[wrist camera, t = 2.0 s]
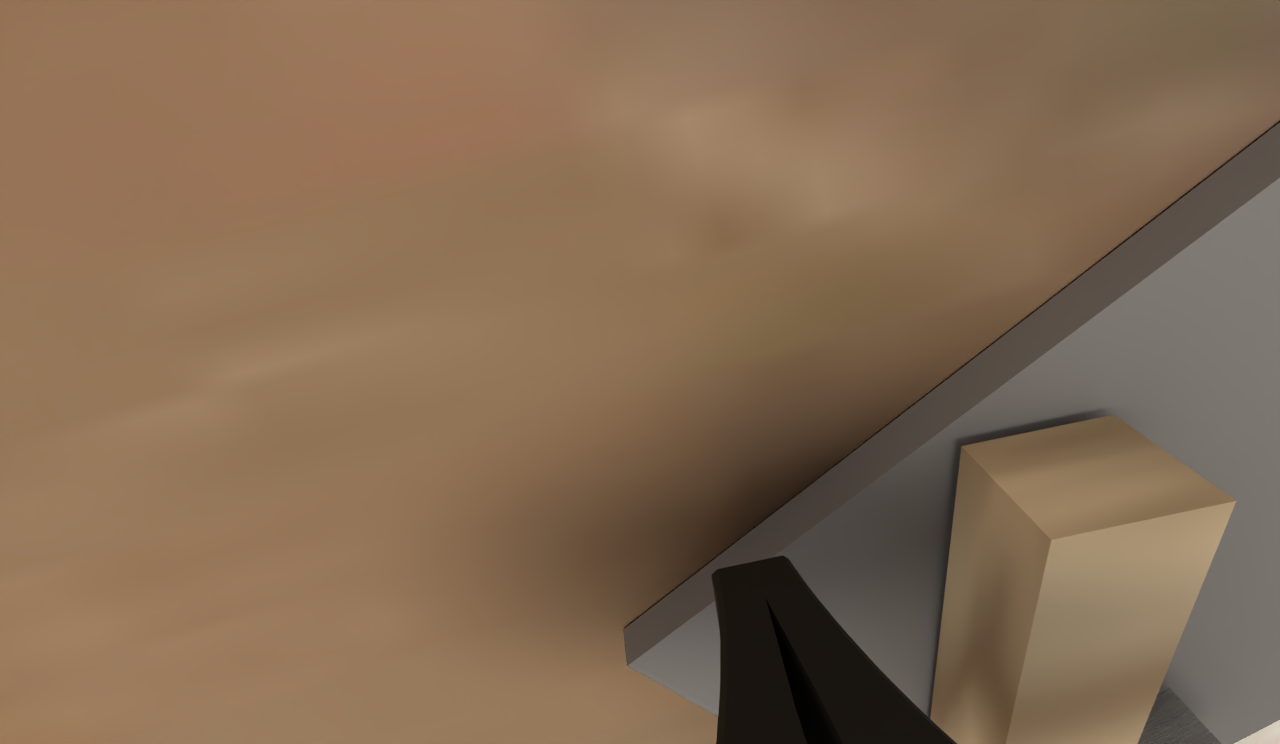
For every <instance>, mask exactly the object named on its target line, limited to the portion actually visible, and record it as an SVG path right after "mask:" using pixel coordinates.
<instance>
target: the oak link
mask: <svg viewBox="0 0 1280 744" xmlns="http://www.w3.org/2000/svg"><path fill="white" fill-rule="evenodd" d="M1235 503H1236V500H1234V499H1233V498H1232V497H1230V496H1229V495H1227V494H1226V493H1224V492H1223V491H1222V490H1220V489H1219V488H1217V487H1216V486H1214V485H1213V484H1212V483H1210V482H1209V481H1207V480H1206V479H1204V478H1203V477H1202V476H1200V475H1199V474H1197V473H1196V472H1195V471H1193V470H1192V469H1190V468H1189V467H1187V466H1186V465H1185V464H1183V463H1182V462H1180V461H1179V460H1177V459H1176V458H1175V457H1173V456H1172V455H1170V454H1169V453H1167V452H1166V451H1165V450H1163V449H1162V448H1160V447H1159V446H1158V445H1156V444H1155V443H1153V442H1152V441H1150V440H1149V439H1148V438H1146V437H1145V436H1143V435H1142V434H1140V433H1139V432H1138V431H1136V430H1135V429H1133V428H1132V427H1130V426H1129V425H1128V424H1126V423H1125V422H1123V421H1122V420H1120V419H1119V418H1118V417H1116V416H1115V415H1110V416H1105V417H1100V418H1095V419H1090V420H1085V421H1081V422H1076V423H1071V424H1066V425H1061V426H1056V427H1052V428H1047V429H1042V430H1037V431H1032V432H1027V433H1023V434H1018V435H1013V436H1008V437H1003V438H998V439H994V440H989V441H984V442H979V443H974V444H969V445H965V446H961V454H960V463H959V472H958V480H957V489H956V498H955V507H954V515H953V524H952V533H951V542H950V550H949V559H948V568H947V577H946V585H945V594H944V603H943V612H942V620H941V629H940V638H939V647H938V655H937V664H936V673H935V681H934V690H933V699H932V708H931V716H930V719H931V720H932V721H933V722H934V723H935V724H936V725H937V726H938V727H939V728H940V729H942V730H943V731H944V732H945V733H946V734H947V735H948V736H949V737H950V738H952V739H953V740H954V741H955V742H956V743H957V744H1138V741H1139V739H1140V736H1141V734H1142V731H1143V729H1144V727H1145V724H1146V722H1147V719H1148V717H1149V714H1150V712H1151V709H1152V707H1153V704H1154V702H1155V700H1156V697H1157V695H1158V692H1159V690H1160V687H1161V685H1162V682H1163V680H1164V677H1165V675H1166V673H1167V670H1168V668H1169V665H1170V663H1171V660H1172V658H1173V655H1174V653H1175V650H1176V648H1177V646H1178V643H1179V641H1180V638H1181V636H1182V633H1183V631H1184V628H1185V626H1186V624H1187V621H1188V619H1189V616H1190V614H1191V611H1192V609H1193V606H1194V604H1195V601H1196V599H1197V597H1198V594H1199V592H1200V589H1201V587H1202V584H1203V582H1204V579H1205V577H1206V574H1207V572H1208V570H1209V567H1210V565H1211V562H1212V560H1213V557H1214V555H1215V552H1216V550H1217V547H1218V545H1219V543H1220V540H1221V538H1222V535H1223V533H1224V530H1225V528H1226V525H1227V523H1228V521H1229V518H1230V516H1231V513H1232V511H1233V508H1234V506H1235Z"/></svg>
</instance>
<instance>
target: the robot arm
mask: <svg viewBox="0 0 1280 744" xmlns="http://www.w3.org/2000/svg"><path fill="white" fill-rule="evenodd" d="M711 577H712V583H713V590H714V597H715V603H716V610H717V617H718V623H719V630H720V698H719V713H718V728H717V742H716V744H957V743H956V742H955V741H954V740H953V739H952V738H950V737H949V736H948V735H947V734H946V733H945V732H944V731H943V730H942V729H940V728H939V727H938V726H937V725H936V724H935V723H934V722H933V721H932V720H931V719H930V718H929V717H928V716H927V715H925V714H924V713H923V712H922V711H921V710H920V709H919V708H918V707H917V706H916V705H915V704H914V703H913V702H912V701H911V700H910V699H909V698H908V697H907V696H906V695H905V694H904V693H903V692H902V691H901V690H900V689H899V688H898V687H897V686H896V685H895V684H894V683H893V682H892V681H891V680H890V679H889V678H888V677H887V676H886V675H885V674H884V673H883V672H882V671H881V670H880V669H879V668H878V666H877V665H876V664H875V663H874V662H873V661H872V660H871V659H870V658H869V657H868V656H867V655H866V653H865V652H864V651H863V650H862V649H861V648H860V647H859V646H858V645H857V644H856V642H855V641H854V640H853V639H852V638H851V637H850V636H849V635H848V634H847V632H846V631H845V630H844V629H843V628H842V627H841V626H840V624H839V623H838V622H837V621H836V620H835V619H834V617H833V616H832V615H831V614H830V613H829V611H828V610H827V609H826V608H825V606H824V605H823V604H822V603H821V602H820V600H819V599H818V598H817V597H816V595H815V594H814V593H813V591H812V590H811V589H810V588H809V586H808V585H807V584H806V582H805V581H804V580H803V578H802V577H801V576H800V574H799V573H798V571H797V570H796V569H795V567H794V566H793V564H792V563H791V561H790V560H789V559H788V558H787V557H785V556H783V555H782V556H777V557H773V558H768V559H763V560H758V561H754V562H749V563H744V564H739V565H735V566H730V567H725V568H720V569H717V570H716V571H715V572H714V573H713V574H712V575H711Z"/></svg>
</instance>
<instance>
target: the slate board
mask: <svg viewBox="0 0 1280 744" xmlns="http://www.w3.org/2000/svg"><path fill="white" fill-rule="evenodd" d="M1110 415H1115V416H1116V417H1118V418H1119V419H1120V420H1122V421H1123V422H1125V423H1126V424H1128V425H1129V426H1130V427H1132V428H1133V429H1135V430H1136V431H1138V432H1139V433H1140V434H1142V435H1143V436H1145V437H1146V438H1148V439H1149V440H1150V441H1152V442H1153V443H1155V444H1156V445H1158V446H1159V447H1160V448H1162V449H1163V450H1165V451H1166V452H1167V453H1169V454H1170V455H1172V456H1173V457H1175V458H1176V459H1177V460H1179V461H1180V462H1182V463H1183V464H1185V465H1186V466H1187V467H1189V468H1190V469H1192V470H1193V471H1195V472H1196V473H1197V474H1199V475H1200V476H1202V477H1203V478H1204V479H1206V480H1207V481H1209V482H1210V483H1212V484H1213V485H1214V486H1216V487H1217V488H1219V489H1220V490H1222V491H1223V492H1224V493H1226V494H1227V495H1229V496H1230V497H1232V498H1233V499H1234V500H1236V503H1235V506H1234V508H1233V511H1232V513H1231V516H1230V518H1229V521H1228V523H1227V525H1226V528H1225V530H1224V533H1223V535H1222V538H1221V540H1220V543H1219V545H1218V547H1217V550H1216V552H1215V555H1214V557H1213V560H1212V562H1211V565H1210V567H1209V570H1208V572H1207V574H1206V577H1205V579H1204V582H1203V584H1202V587H1201V589H1200V592H1199V594H1198V597H1197V599H1196V601H1195V604H1194V606H1193V609H1192V611H1191V614H1190V616H1189V619H1188V621H1187V624H1186V626H1185V628H1184V631H1183V633H1182V636H1181V638H1180V641H1179V643H1178V646H1177V648H1176V650H1175V653H1174V655H1173V658H1172V660H1171V663H1170V665H1169V668H1168V670H1167V673H1166V675H1165V677H1164V680H1163V682H1162V685H1161V687H1160V690H1159V692H1158V694H1159V693H1161V692H1163V691H1165V690H1166V689H1168V688H1170V689H1171V690H1172V691H1173V692H1174V693H1175V694H1176V695H1177V696H1178V697H1179V698H1180V699H1181V700H1182V702H1183V703H1184V704H1185V705H1186V706H1187V707H1188V708H1189V709H1190V710H1191V711H1192V712H1193V713H1194V715H1195V716H1196V717H1197V718H1198V719H1199V720H1200V721H1201V722H1202V723H1203V724H1204V725H1205V726H1206V728H1207V729H1208V730H1209V731H1210V732H1211V733H1212V734H1213V735H1214V736H1215V737H1216V738H1217V739H1218V741H1219V742H1220V743H1221V744H1234V743H1235V742H1237V741H1239V740H1241V739H1243V738H1245V737H1247V736H1249V735H1251V734H1253V733H1255V732H1257V731H1259V730H1261V729H1263V728H1265V727H1267V726H1268V725H1270V724H1272V723H1274V722H1276V721H1278V720H1280V123H1278V124H1277V125H1276V126H1275V127H1273V128H1272V129H1271V130H1269V131H1268V132H1267V133H1265V134H1264V135H1263V136H1262V137H1260V138H1259V139H1258V140H1256V141H1255V142H1254V143H1252V144H1251V145H1250V146H1249V147H1247V148H1246V149H1245V150H1243V151H1242V152H1241V153H1240V154H1238V155H1237V156H1236V157H1234V158H1233V159H1232V160H1230V161H1229V162H1228V163H1227V164H1225V165H1224V166H1223V167H1221V168H1220V169H1219V170H1218V171H1216V172H1215V173H1214V174H1212V175H1211V176H1210V177H1208V178H1207V179H1206V180H1205V181H1203V182H1202V183H1201V184H1199V185H1198V186H1197V187H1196V188H1194V189H1193V190H1192V191H1190V192H1189V193H1188V194H1186V195H1185V196H1184V197H1183V198H1181V199H1180V200H1179V201H1177V202H1176V203H1175V204H1174V205H1172V206H1171V207H1170V208H1168V209H1167V210H1166V211H1164V212H1163V213H1162V214H1161V215H1159V216H1158V217H1157V218H1155V219H1154V220H1153V221H1152V222H1150V223H1149V224H1148V225H1146V226H1145V227H1144V228H1142V229H1141V230H1140V231H1139V232H1137V233H1136V234H1135V235H1133V236H1132V237H1131V238H1129V239H1128V240H1127V241H1126V242H1124V243H1123V244H1122V245H1120V246H1119V247H1118V248H1117V249H1115V250H1114V251H1113V252H1111V253H1110V254H1109V255H1107V256H1106V257H1105V258H1104V259H1102V260H1101V261H1100V262H1098V263H1097V264H1096V265H1095V266H1093V267H1092V268H1091V269H1089V270H1088V271H1087V272H1085V273H1084V274H1083V275H1082V276H1080V277H1079V278H1078V279H1076V280H1075V281H1074V282H1073V283H1071V284H1070V285H1069V286H1067V287H1066V288H1065V289H1063V290H1062V291H1061V292H1060V293H1058V294H1057V295H1056V296H1054V297H1053V298H1052V299H1051V300H1049V301H1048V302H1047V303H1045V304H1044V305H1043V306H1041V307H1040V308H1039V309H1038V310H1036V311H1035V312H1034V313H1032V314H1031V315H1030V316H1029V317H1027V318H1026V319H1025V320H1023V321H1022V322H1021V323H1019V324H1018V325H1017V326H1016V327H1014V328H1013V329H1012V330H1010V331H1009V332H1008V333H1006V334H1005V335H1004V336H1003V337H1001V338H1000V339H999V340H997V341H996V342H995V343H994V344H992V345H991V346H990V347H988V348H987V349H986V350H984V351H983V352H982V353H981V354H979V355H978V356H977V357H975V358H974V359H973V360H972V361H970V362H969V363H968V364H966V365H965V366H964V367H962V368H961V369H960V370H959V371H957V372H956V373H955V374H953V375H952V376H951V377H950V378H948V379H947V380H946V381H944V382H943V383H942V384H940V385H939V386H938V387H937V388H935V389H934V390H933V391H931V392H930V393H929V394H928V395H926V396H925V397H924V398H922V399H921V400H920V401H918V402H917V403H916V404H915V405H913V406H912V407H911V408H909V409H908V410H907V411H906V412H904V413H903V414H902V415H900V416H899V417H898V418H896V419H895V420H894V421H893V422H891V423H890V424H889V425H887V426H886V427H885V428H883V429H882V430H881V431H880V432H878V433H877V434H876V435H874V436H873V437H872V438H871V439H869V440H868V441H867V442H865V443H864V444H863V445H861V446H860V447H859V448H858V449H856V450H855V451H854V452H852V453H851V454H850V455H849V456H847V457H846V458H845V459H843V460H842V461H841V462H839V463H838V464H837V465H836V466H834V467H833V468H832V469H830V470H829V471H828V472H827V473H825V474H824V475H823V476H821V477H820V478H819V479H817V480H816V481H815V482H814V483H812V484H811V485H810V486H808V487H807V488H806V489H805V490H803V491H802V492H801V493H799V494H798V495H797V496H795V497H794V498H793V499H792V500H790V501H789V502H788V503H786V504H785V505H784V506H783V507H781V508H780V509H779V510H777V511H776V512H775V513H773V514H772V515H771V516H770V517H768V518H767V519H766V520H764V521H763V522H762V523H760V524H759V525H758V526H757V527H755V528H754V529H753V530H751V531H750V532H749V533H748V534H746V535H745V536H744V537H742V538H741V539H740V540H738V541H737V542H736V543H735V544H733V545H732V546H731V547H729V548H728V549H727V550H726V551H724V552H723V553H722V554H720V555H719V556H718V557H716V558H715V559H714V560H713V561H711V562H710V563H709V564H707V565H706V566H705V567H704V568H702V569H701V570H700V571H698V572H697V573H696V574H694V575H693V576H692V577H691V578H689V579H688V580H687V581H685V582H684V583H683V584H682V585H680V586H679V587H678V588H676V589H675V590H674V591H672V592H671V593H670V594H669V595H667V596H666V597H665V598H663V599H662V600H661V601H660V602H658V603H657V604H656V605H654V606H653V607H652V608H650V609H649V610H648V611H647V612H645V613H644V614H643V615H641V616H640V617H639V618H637V619H636V620H635V621H634V622H632V623H631V624H630V625H628V626H627V627H626V628H625V629H623V633H624V642H625V651H626V660H627V666H628V667H630V668H631V669H633V670H635V671H637V672H639V673H640V674H642V675H644V676H646V677H648V678H649V679H651V680H653V681H655V682H657V683H658V684H660V685H662V686H664V687H666V688H667V689H669V690H671V691H673V692H675V693H676V694H678V695H680V696H682V697H683V698H685V699H687V700H689V701H691V702H692V703H694V704H696V705H698V706H700V707H701V708H703V709H705V710H707V711H709V712H710V713H712V714H714V715H716V716H718V713H719V698H720V630H719V623H718V617H717V610H716V603H715V597H714V590H713V583H712V577H711V575H712V574H713V573H714V572H715V571H716V570H717V569H720V568H725V567H730V566H735V565H739V564H744V563H749V562H754V561H758V560H763V559H768V558H773V557H777V556H782V555H783V556H785V557H787V558H788V559H789V560H790V561H791V563H792V564H793V566H794V567H795V569H796V570H797V571H798V573H799V574H800V576H801V577H802V578H803V580H804V581H805V582H806V584H807V585H808V586H809V588H810V589H811V590H812V591H813V593H814V594H815V595H816V597H817V598H818V599H819V600H820V602H821V603H822V604H823V605H824V606H825V608H826V609H827V610H828V611H829V613H830V614H831V615H832V616H833V617H834V619H835V620H836V621H837V622H838V623H839V624H840V626H841V627H842V628H843V629H844V630H845V631H846V632H847V634H848V635H849V636H850V637H851V638H852V639H853V640H854V641H855V642H856V644H857V645H858V646H859V647H860V648H861V649H862V650H863V651H864V652H865V653H866V655H867V656H868V657H869V658H870V659H871V660H872V661H873V662H874V663H875V664H876V665H877V666H878V668H879V669H880V670H881V671H882V672H883V673H884V674H885V675H886V676H887V677H888V678H889V679H890V680H891V681H892V682H893V683H894V684H895V685H896V686H897V687H898V688H899V689H900V690H901V691H902V692H903V693H904V694H905V695H906V696H907V697H908V698H909V699H910V700H911V701H912V702H913V703H914V704H915V705H916V706H917V707H918V708H919V709H920V710H921V711H922V712H923V713H924V714H925V715H927V716H928V717H929V718H930V716H931V708H932V699H933V690H934V681H935V673H936V664H937V655H938V647H939V638H940V629H941V620H942V612H943V603H944V594H945V585H946V577H947V568H948V559H949V550H950V542H951V533H952V524H953V515H954V507H955V498H956V489H957V480H958V472H959V463H960V454H961V446H965V445H969V444H974V443H979V442H984V441H989V440H994V439H998V438H1003V437H1008V436H1013V435H1018V434H1023V433H1027V432H1032V431H1037V430H1042V429H1047V428H1052V427H1056V426H1061V425H1066V424H1071V423H1076V422H1081V421H1085V420H1090V419H1095V418H1100V417H1105V416H1110Z"/></svg>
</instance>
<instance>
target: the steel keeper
mask: <svg viewBox="0 0 1280 744" xmlns="http://www.w3.org/2000/svg"><path fill="white" fill-rule="evenodd" d="M1138 744H1221V743H1220V742H1219V741H1218V739H1217V738H1216V737H1215V736H1214V735H1213V734H1212V733H1211V732H1210V731H1209V730H1208V729H1207V728H1206V726H1205V725H1204V724H1203V723H1202V722H1201V721H1200V720H1199V719H1198V718H1197V717H1196V716H1195V715H1194V713H1193V712H1192V711H1191V710H1190V709H1189V708H1188V707H1187V706H1186V705H1185V704H1184V703H1183V702H1182V700H1181V699H1180V698H1179V697H1178V696H1177V695H1176V694H1175V693H1174V692H1173V691H1172V690H1171V689H1170V688H1168V689H1166V690H1165V691H1163V692H1161V693H1159V694H1158V695H1157V697H1156V700H1155V702H1154V704H1153V707H1152V709H1151V712H1150V714H1149V717H1148V719H1147V722H1146V724H1145V727H1144V729H1143V731H1142V734H1141V736H1140V739H1139V741H1138Z"/></svg>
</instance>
